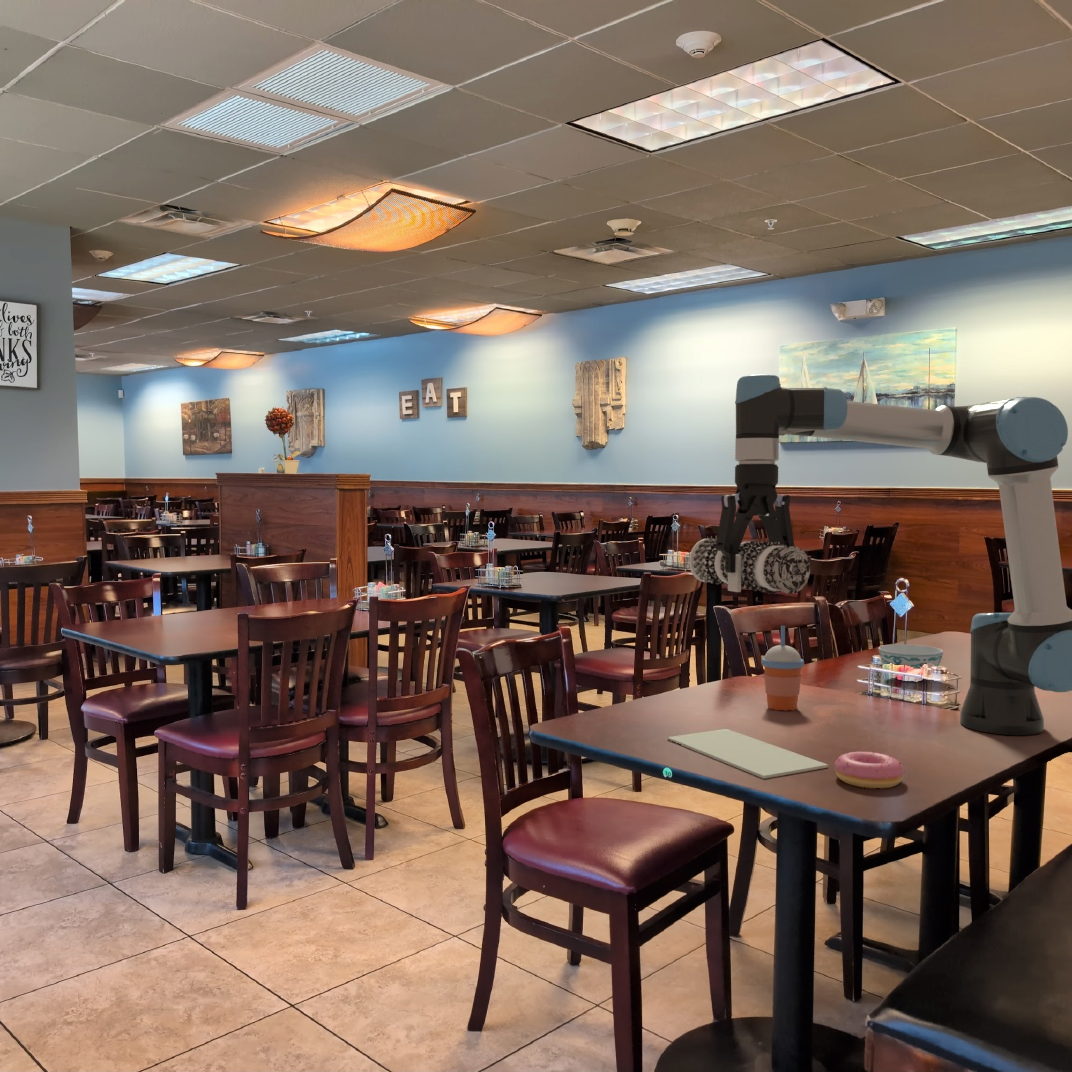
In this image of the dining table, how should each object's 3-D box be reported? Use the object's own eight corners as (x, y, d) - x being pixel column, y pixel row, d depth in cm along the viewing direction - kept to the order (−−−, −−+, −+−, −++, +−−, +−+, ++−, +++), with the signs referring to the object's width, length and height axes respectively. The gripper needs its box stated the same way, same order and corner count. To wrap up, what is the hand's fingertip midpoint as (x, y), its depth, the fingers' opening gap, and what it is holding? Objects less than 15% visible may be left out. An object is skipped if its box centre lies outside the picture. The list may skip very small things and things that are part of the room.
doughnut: (903, 795, 153) (903, 768, 152) (830, 787, 157) (830, 761, 157) (905, 776, 163) (905, 751, 163) (837, 769, 167) (837, 745, 167)
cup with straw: (785, 714, 206) (785, 630, 205) (752, 706, 213) (752, 625, 212) (812, 708, 211) (813, 626, 210) (779, 701, 218) (780, 621, 218)
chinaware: (938, 675, 247) (939, 645, 247) (945, 687, 233) (946, 655, 233) (876, 672, 252) (876, 643, 251) (879, 684, 237) (880, 652, 237)
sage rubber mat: (667, 739, 186) (667, 737, 186) (726, 731, 192) (726, 728, 192) (763, 778, 161) (763, 775, 161) (828, 767, 167) (828, 764, 167)
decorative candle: (733, 552, 189) (827, 561, 166) (711, 593, 186) (803, 607, 164) (702, 526, 185) (794, 532, 163) (679, 567, 183) (769, 579, 161)
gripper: (788, 464, 181) (786, 585, 182) (695, 462, 171) (693, 590, 172) (817, 463, 174) (815, 589, 175) (721, 461, 164) (719, 595, 165)
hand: (754, 590), depth 174 cm, fingers closed on decorative candle, 8 cm apart
